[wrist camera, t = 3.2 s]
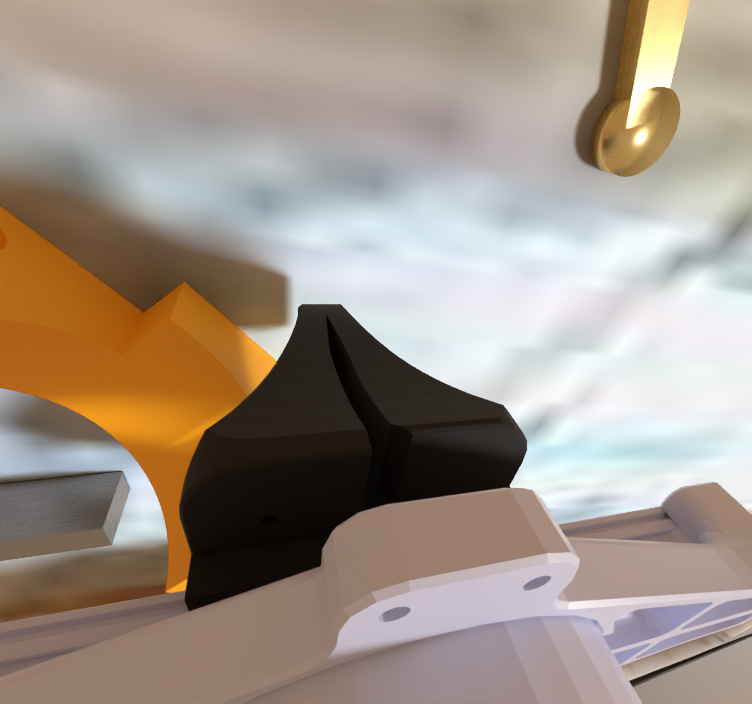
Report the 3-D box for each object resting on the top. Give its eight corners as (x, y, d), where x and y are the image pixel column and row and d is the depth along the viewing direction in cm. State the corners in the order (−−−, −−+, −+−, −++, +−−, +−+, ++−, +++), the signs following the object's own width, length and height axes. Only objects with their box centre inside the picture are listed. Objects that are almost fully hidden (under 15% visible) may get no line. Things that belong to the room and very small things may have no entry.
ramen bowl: (738, 478, 32) (852, 579, 26) (687, 568, 47) (753, 647, 41) (469, 587, 33) (516, 709, 27) (500, 642, 48) (536, 731, 41)
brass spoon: (648, 159, 13) (667, 164, 12) (583, 179, 13) (599, 185, 12) (714, -137, 9) (748, -152, 8) (620, -110, 9) (646, -123, 8)
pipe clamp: (312, 389, 16) (334, 541, 11) (234, 441, 17) (219, 605, 12) (-18, 102, 8) (-429, 155, 3) (-133, 217, 9) (-608, 398, 4)
